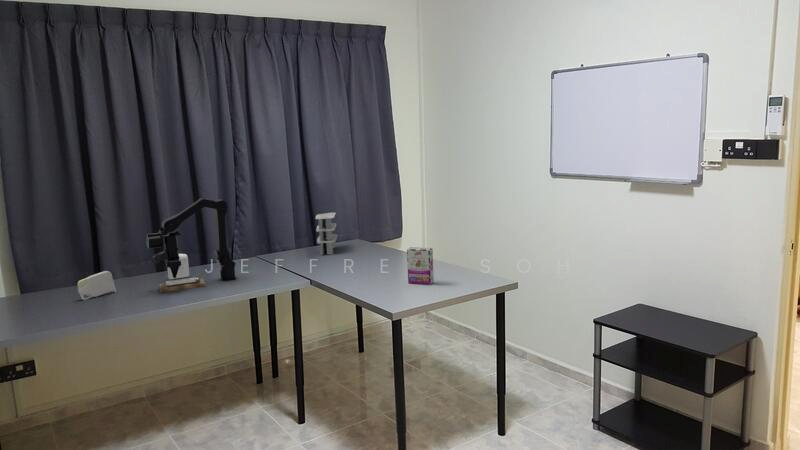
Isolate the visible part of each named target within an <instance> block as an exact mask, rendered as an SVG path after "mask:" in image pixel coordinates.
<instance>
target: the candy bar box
mask: <svg viewBox="0 0 800 450" xmlns="http://www.w3.org/2000/svg"><path fill="white" fill-rule="evenodd" d="M406 259H407V277H408V278H407V280H408V281H407V283H408V284H413V285H426V286H427V285H429V286H431V285H432V284H433V283H434V278H435V277H434V255H433V247H409V248H407V249H406Z"/></svg>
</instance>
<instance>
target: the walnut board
mask: <svg viewBox="0 0 800 450" xmlns="http://www.w3.org/2000/svg"><path fill="white" fill-rule="evenodd" d="M197 277H198V278H199V277H200V276H197ZM202 287H206V282H205V280H204V279H203V278H199V279H196V282H191V283H183V284H176V285H168V286H167V285H166V283H160V284H159V292H160V293H166V292H175V291H181V290H182V291H183V290H189V289H197V288H202Z"/></svg>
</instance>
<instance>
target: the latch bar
mask: <svg viewBox="0 0 800 450" xmlns="http://www.w3.org/2000/svg"><path fill="white" fill-rule="evenodd" d="M198 277H199V276H194V277H187V278H179V279H171V280H168V281H167V280H166V281H165V284H166V285H167V286H168V285H176V284H183V283H191V282H196V279H200V278H198Z"/></svg>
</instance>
